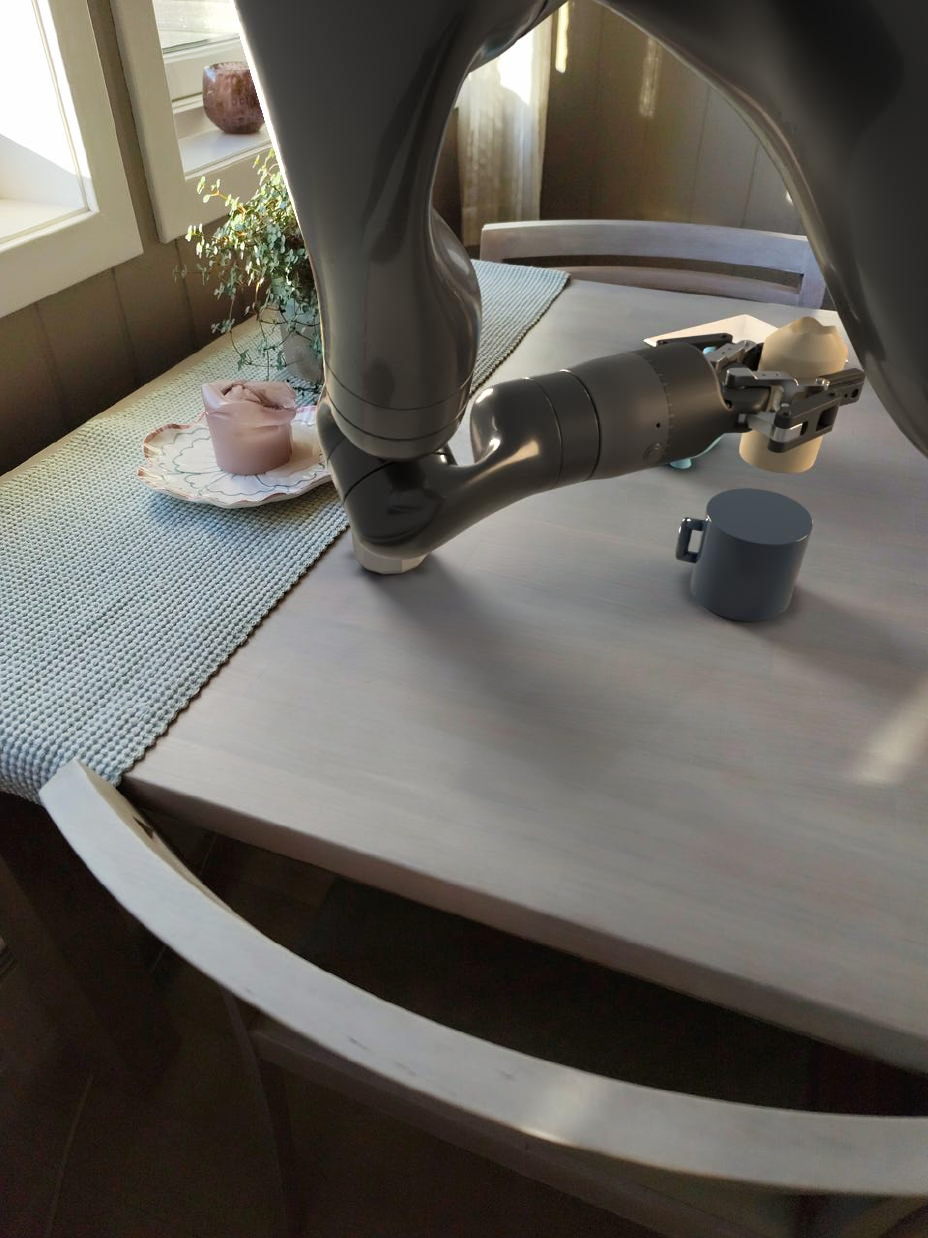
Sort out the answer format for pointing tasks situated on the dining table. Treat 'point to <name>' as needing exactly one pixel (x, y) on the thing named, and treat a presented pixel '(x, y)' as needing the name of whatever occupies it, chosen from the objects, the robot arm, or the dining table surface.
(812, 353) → the candle
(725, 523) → the mug
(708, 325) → the plate
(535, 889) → the dining table surface
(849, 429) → the dining table surface
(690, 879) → the dining table surface
